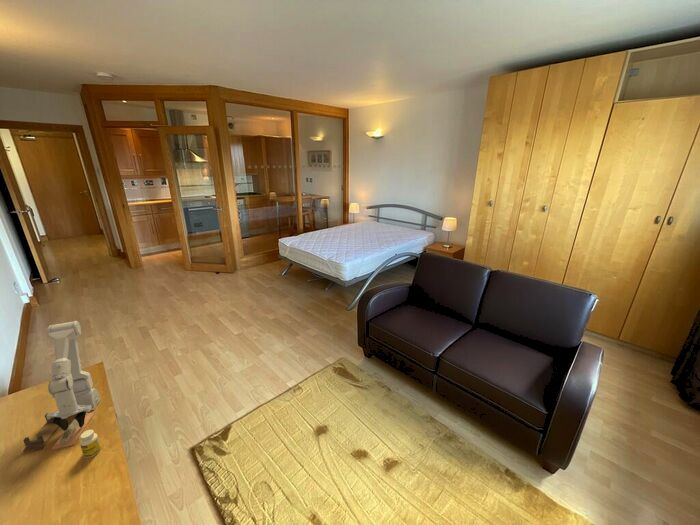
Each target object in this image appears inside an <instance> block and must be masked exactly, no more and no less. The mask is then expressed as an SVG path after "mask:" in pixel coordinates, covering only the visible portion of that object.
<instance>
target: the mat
mask: <svg viewBox="0 0 700 525" xmlns="http://www.w3.org/2000/svg"><path fill="white" fill-rule="evenodd" d="M87 413H88V415H87V417H86V418H85V420H84V425H83V427H81V428H80V427H79V428H78V430H77V431H76V433H75V434H74V435H73V437H72V438H71V440H70V441H69V443H68V444H64V445H60V443H59V440H60V439H61V437H62V436H63V435H64V433H65V432H66V431H67V430H66V431H64V432H63V433H62V434H61V436H60V437H59V438H58V440H57V442H56V443H55V444H54V445H53V447H52V448H51V450H52V451H55V450H58V449H64V448H68V447H71V446H75V444H76V442H77V441H78V439H79V438H80V436H81V434H82V433H83V432H84V430H86V427H87V426H88V424H90V421H91V420H92V419H93V417H94V415H95V414H96V412H95V411H93V412H91V411H90V412H87ZM74 420H75V417H73V419H72V421H71V423H69V424H68V425H69V426H70V425H71V424H72V422H73V421H74ZM68 428H69V427H68ZM68 428H67V429H68Z"/></svg>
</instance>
